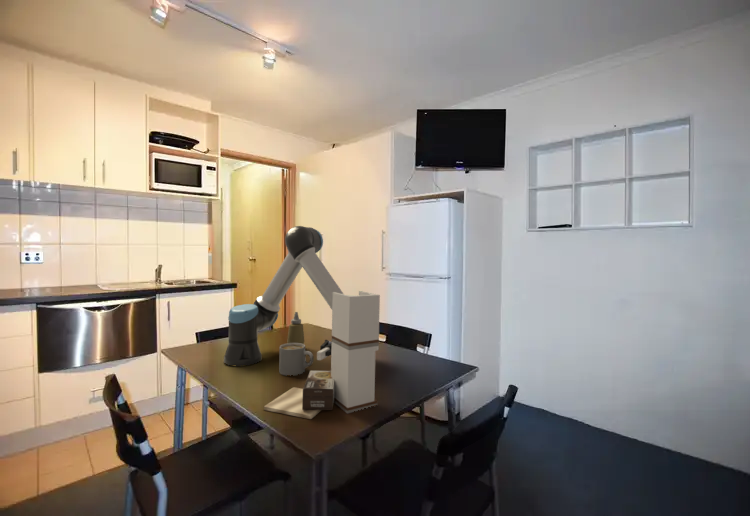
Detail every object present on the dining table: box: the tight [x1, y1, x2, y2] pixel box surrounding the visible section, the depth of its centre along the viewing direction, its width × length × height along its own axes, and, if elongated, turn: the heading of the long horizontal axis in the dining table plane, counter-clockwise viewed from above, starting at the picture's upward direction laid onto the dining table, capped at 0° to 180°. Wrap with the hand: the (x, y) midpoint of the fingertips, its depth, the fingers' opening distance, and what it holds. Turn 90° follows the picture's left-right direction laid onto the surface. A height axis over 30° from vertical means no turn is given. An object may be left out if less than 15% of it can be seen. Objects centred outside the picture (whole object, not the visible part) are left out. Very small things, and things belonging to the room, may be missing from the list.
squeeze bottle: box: [286, 311, 305, 345], centre depth 169 cm, size 8×8×18 cm
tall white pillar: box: [330, 290, 381, 414], centre depth 111 cm, size 11×11×35 cm
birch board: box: [263, 387, 322, 420], centre depth 110 cm, size 16×16×1 cm
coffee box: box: [302, 370, 335, 411], centre depth 111 cm, size 9×6×16 cm
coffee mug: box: [278, 343, 314, 377], centre depth 138 cm, size 13×10×10 cm
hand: (318, 356), depth 122 cm, fingers closed
